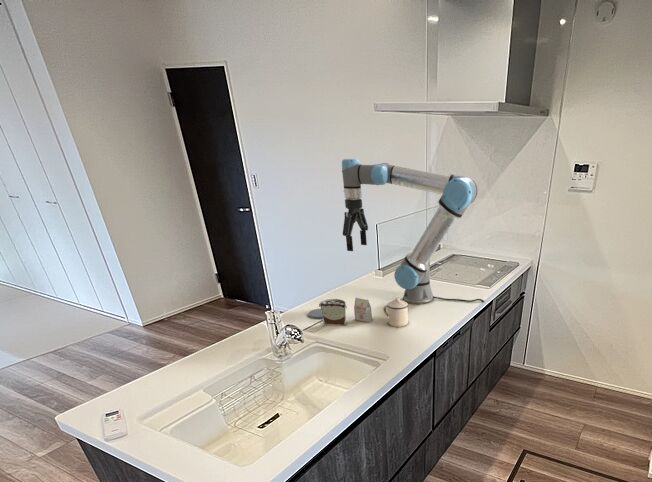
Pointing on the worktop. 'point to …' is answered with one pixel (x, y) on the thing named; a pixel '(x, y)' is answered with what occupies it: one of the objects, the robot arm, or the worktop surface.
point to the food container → (333, 311)
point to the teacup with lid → (397, 312)
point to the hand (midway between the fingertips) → (357, 247)
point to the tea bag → (362, 310)
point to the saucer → (316, 314)
